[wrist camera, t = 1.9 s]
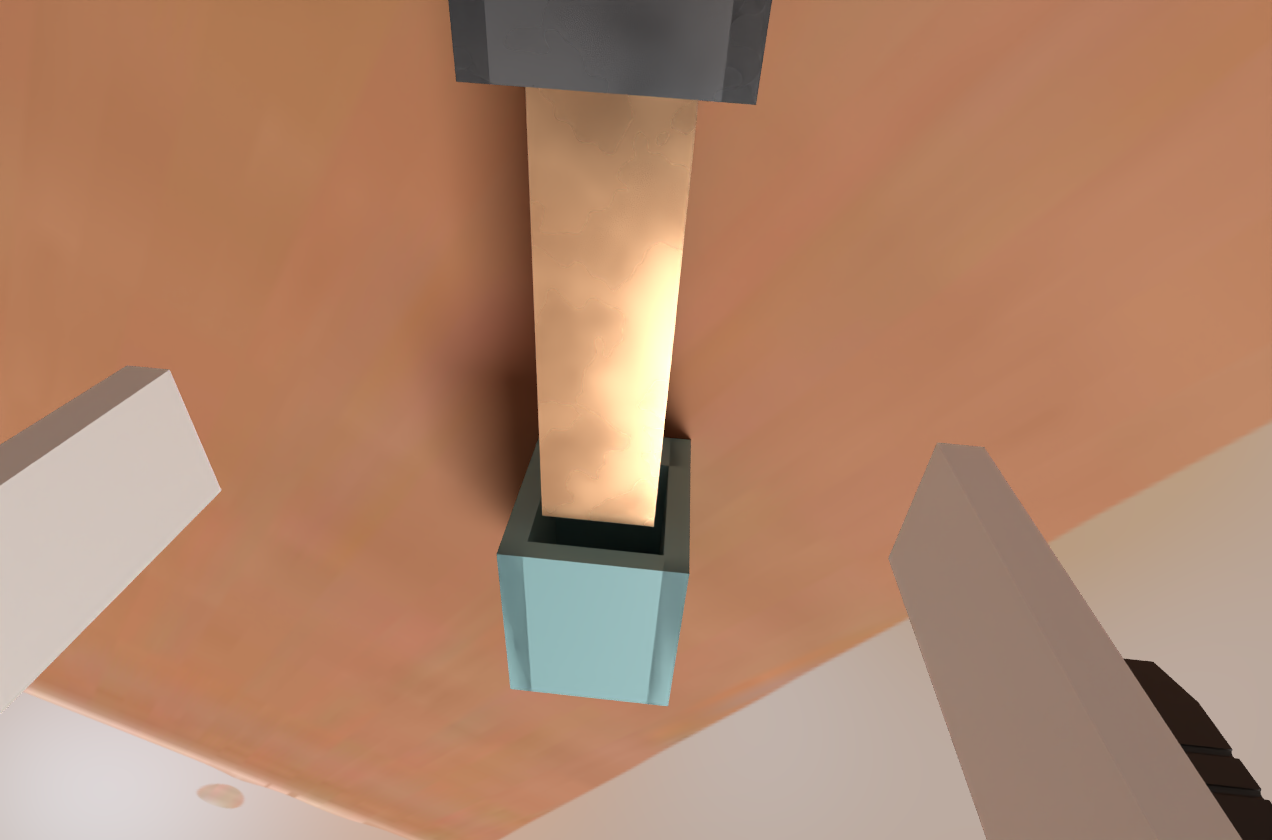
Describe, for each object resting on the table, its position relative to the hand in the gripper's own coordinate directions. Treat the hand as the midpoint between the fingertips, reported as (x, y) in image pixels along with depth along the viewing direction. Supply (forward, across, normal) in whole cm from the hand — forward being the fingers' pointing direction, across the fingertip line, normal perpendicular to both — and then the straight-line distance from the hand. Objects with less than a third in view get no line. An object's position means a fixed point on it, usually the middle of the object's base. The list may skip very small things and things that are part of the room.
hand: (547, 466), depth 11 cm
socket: (+16, 0, -15) cm, 22 cm away
